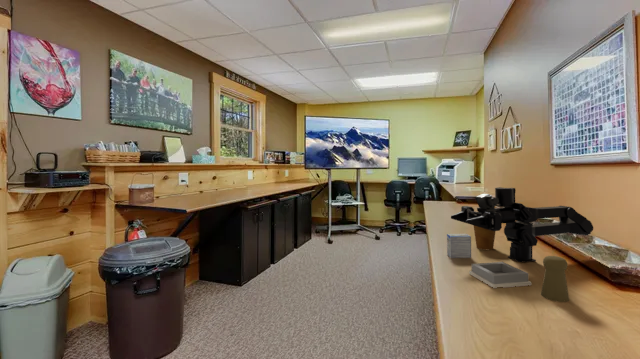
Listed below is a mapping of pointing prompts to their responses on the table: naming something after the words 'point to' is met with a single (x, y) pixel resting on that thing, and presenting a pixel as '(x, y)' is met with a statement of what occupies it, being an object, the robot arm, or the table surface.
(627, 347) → the table surface
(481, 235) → the disposable coffee cup
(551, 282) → the cork
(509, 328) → the table surface
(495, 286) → the socket plate
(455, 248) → the medicine box
